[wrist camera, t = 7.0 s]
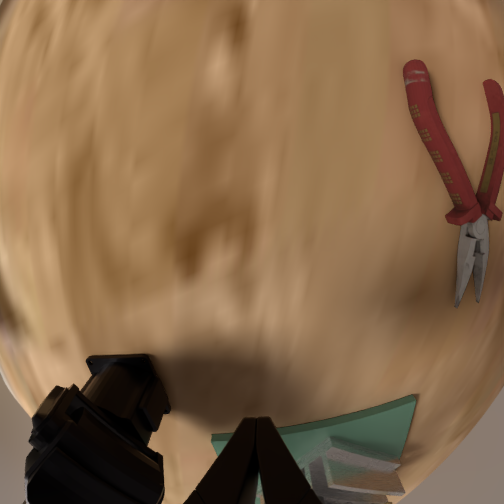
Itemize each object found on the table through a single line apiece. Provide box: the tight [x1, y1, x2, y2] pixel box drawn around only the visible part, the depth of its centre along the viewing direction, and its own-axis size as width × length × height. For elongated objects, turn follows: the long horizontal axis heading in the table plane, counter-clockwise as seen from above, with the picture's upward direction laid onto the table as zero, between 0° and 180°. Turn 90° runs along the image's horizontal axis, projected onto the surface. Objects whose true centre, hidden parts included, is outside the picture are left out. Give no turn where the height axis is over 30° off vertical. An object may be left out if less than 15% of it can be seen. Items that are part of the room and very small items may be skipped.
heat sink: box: [256, 436, 405, 504], centre depth 21 cm, size 12×12×8 cm
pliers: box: [403, 60, 504, 308], centre depth 17 cm, size 12×20×3 cm, turn 7°
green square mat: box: [211, 395, 416, 504], centre depth 25 cm, size 20×20×1 cm
